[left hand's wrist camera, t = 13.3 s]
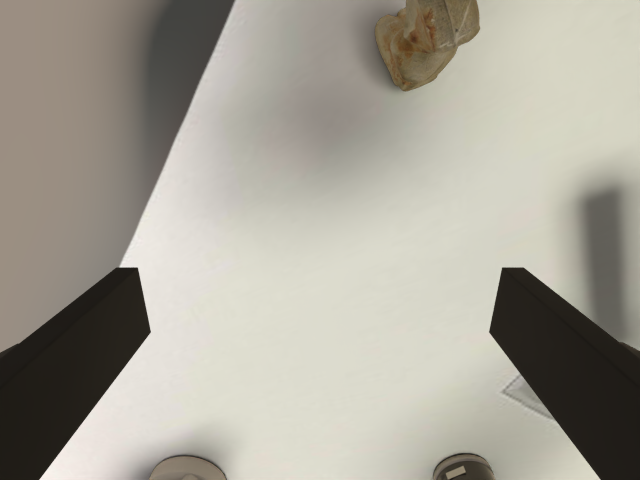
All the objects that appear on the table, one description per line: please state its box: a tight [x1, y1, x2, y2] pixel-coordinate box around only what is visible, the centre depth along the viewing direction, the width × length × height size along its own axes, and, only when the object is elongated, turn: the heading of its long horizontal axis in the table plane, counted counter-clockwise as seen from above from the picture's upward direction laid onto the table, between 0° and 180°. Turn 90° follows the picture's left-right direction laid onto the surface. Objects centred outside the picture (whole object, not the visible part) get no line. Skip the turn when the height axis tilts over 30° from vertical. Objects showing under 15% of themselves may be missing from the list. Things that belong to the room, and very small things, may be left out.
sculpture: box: [375, 0, 480, 91], centre depth 29 cm, size 6×7×15 cm
